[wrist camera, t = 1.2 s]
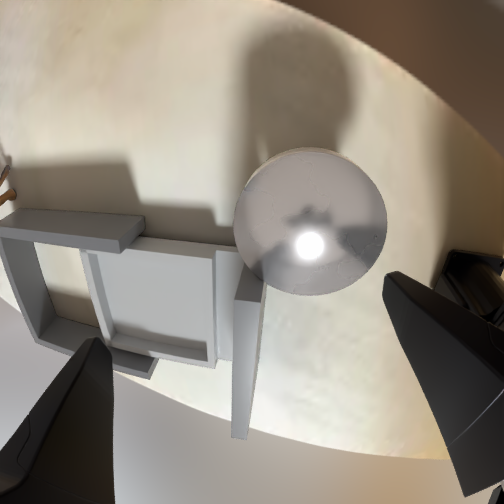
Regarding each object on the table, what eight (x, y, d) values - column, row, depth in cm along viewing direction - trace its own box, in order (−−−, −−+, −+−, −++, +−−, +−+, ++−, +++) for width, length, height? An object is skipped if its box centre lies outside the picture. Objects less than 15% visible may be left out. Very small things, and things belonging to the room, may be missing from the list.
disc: (390, 159, 13) (401, 166, 11) (361, 284, 16) (367, 301, 15) (242, 140, 13) (236, 145, 12) (236, 270, 17) (231, 287, 15)
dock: (144, 216, 21) (118, 240, 18) (163, 349, 28) (149, 379, 25) (19, 208, 23) (-9, 225, 19) (53, 320, 29) (35, 342, 26)
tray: (272, 229, 21) (260, 302, 14) (257, 366, 27) (246, 440, 20) (89, 213, 22) (24, 263, 15) (119, 341, 28) (84, 399, 21)
